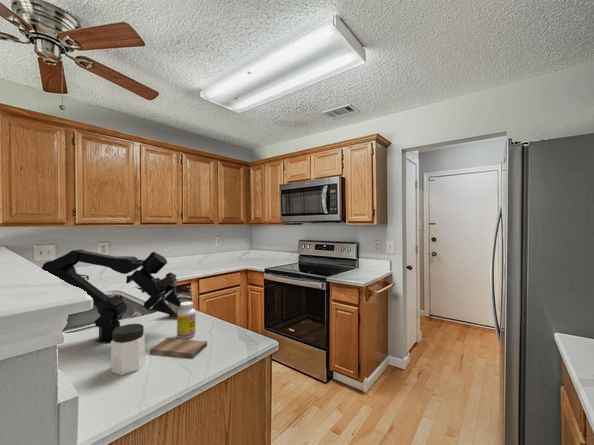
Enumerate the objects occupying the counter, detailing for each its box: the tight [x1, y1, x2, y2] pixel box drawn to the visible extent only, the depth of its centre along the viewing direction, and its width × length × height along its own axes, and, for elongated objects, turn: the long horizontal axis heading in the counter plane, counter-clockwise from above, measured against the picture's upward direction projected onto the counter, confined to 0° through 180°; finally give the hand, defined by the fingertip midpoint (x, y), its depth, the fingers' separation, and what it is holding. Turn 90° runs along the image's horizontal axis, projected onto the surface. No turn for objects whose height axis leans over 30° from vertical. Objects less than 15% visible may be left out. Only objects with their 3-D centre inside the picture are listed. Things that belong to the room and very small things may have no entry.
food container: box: [166, 292, 195, 319], centre depth 129 cm, size 12×6×10 cm, turn 92°
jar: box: [110, 323, 146, 376], centre depth 84 cm, size 9×8×12 cm
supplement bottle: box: [176, 301, 196, 340], centre depth 107 cm, size 7×7×13 cm
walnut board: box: [149, 337, 208, 359], centre depth 96 cm, size 16×9×2 cm, turn 80°
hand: (177, 310), depth 107 cm, fingers open, 9 cm apart
